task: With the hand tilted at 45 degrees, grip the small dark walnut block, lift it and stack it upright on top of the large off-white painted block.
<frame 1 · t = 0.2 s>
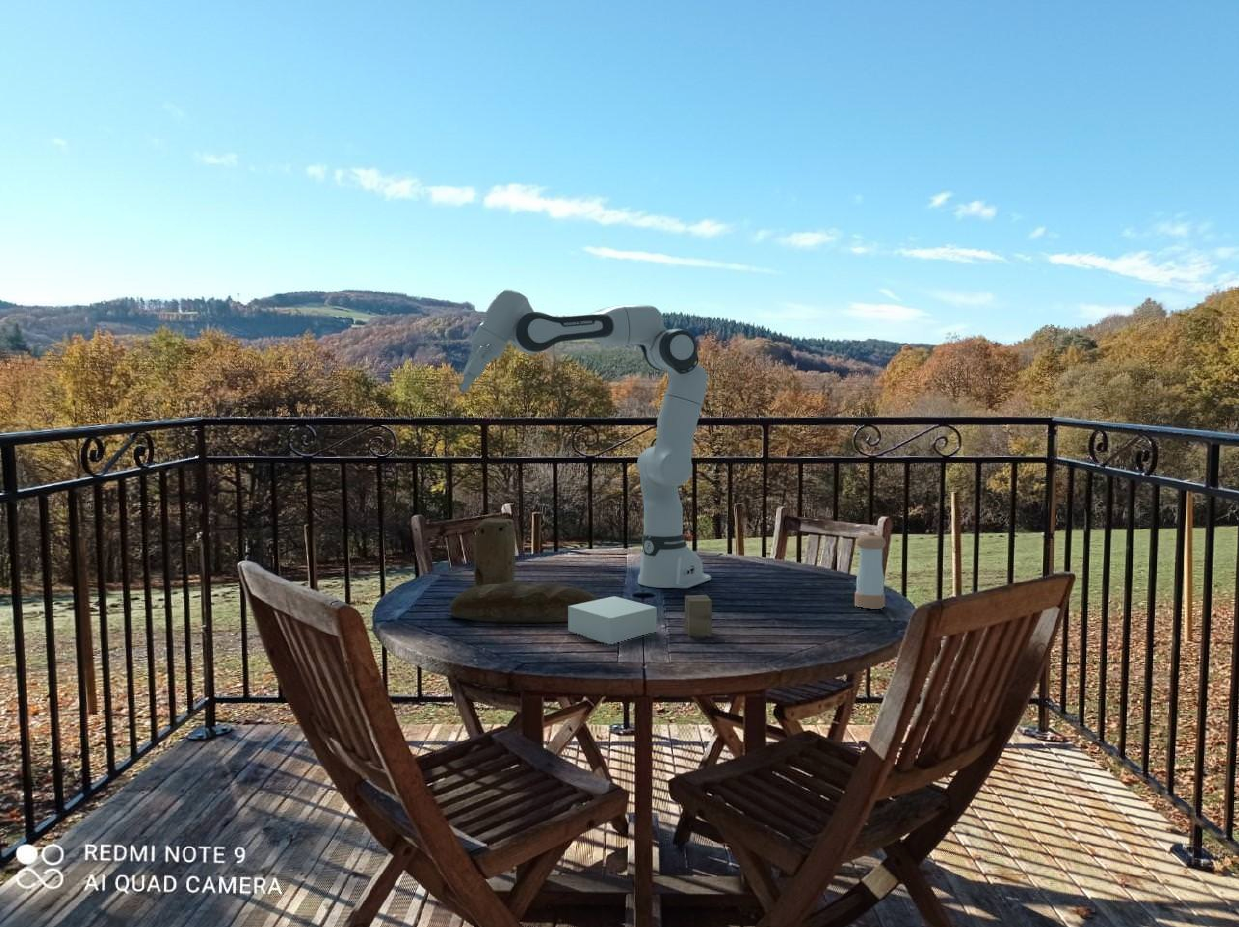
hand: (462, 391, 206), 54 cm above the table, fingers open, 8 cm apart
bread: (526, 617, 189), on the table
walnut block: (697, 633, 175), on the table
block: (494, 593, 213), on the table
painted base block: (612, 633, 176), on the table
pepper shaker: (869, 607, 199), on the table
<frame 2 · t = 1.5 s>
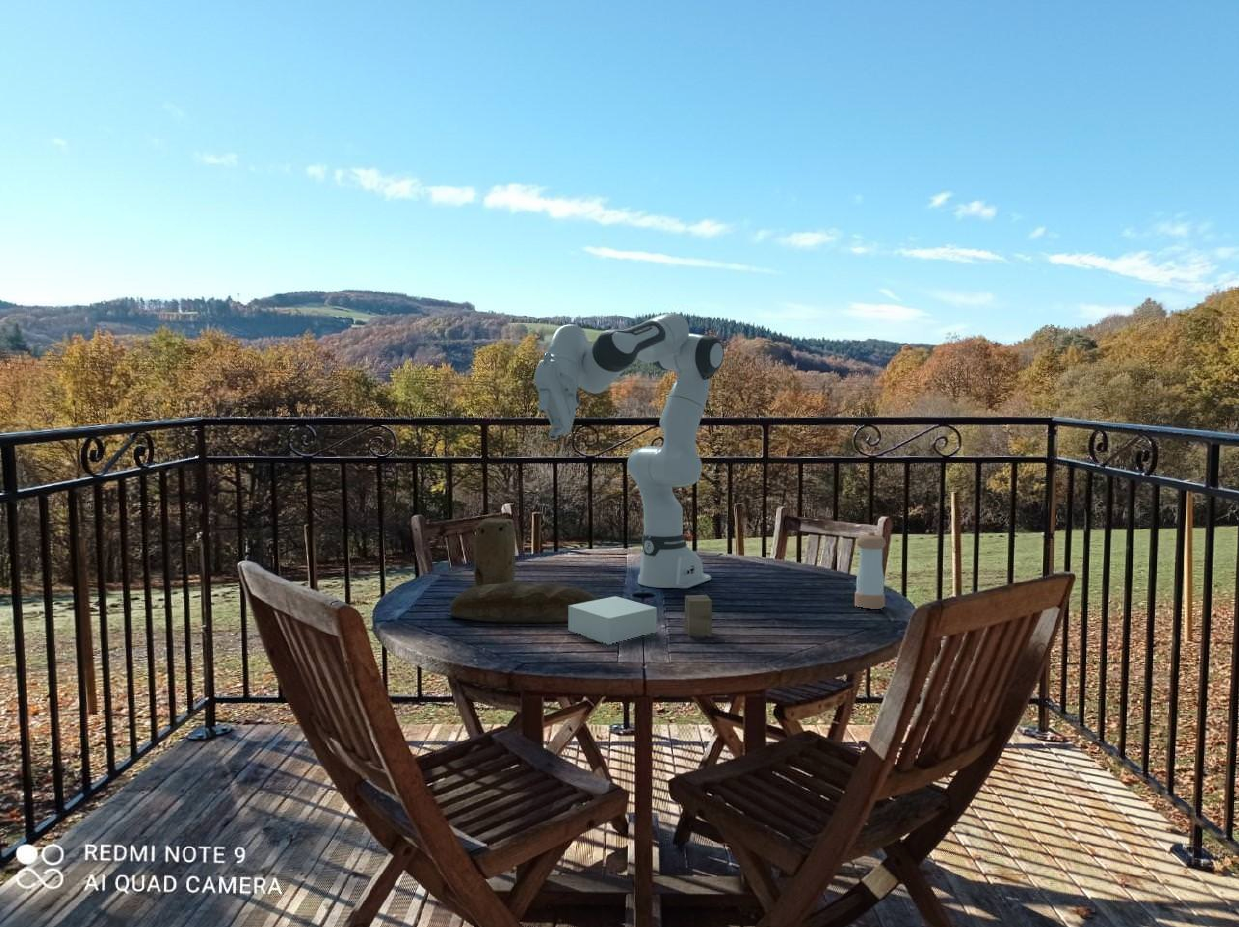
hand: (547, 424, 177), 46 cm above the table, fingers open, 8 cm apart
nothing on the table moved.
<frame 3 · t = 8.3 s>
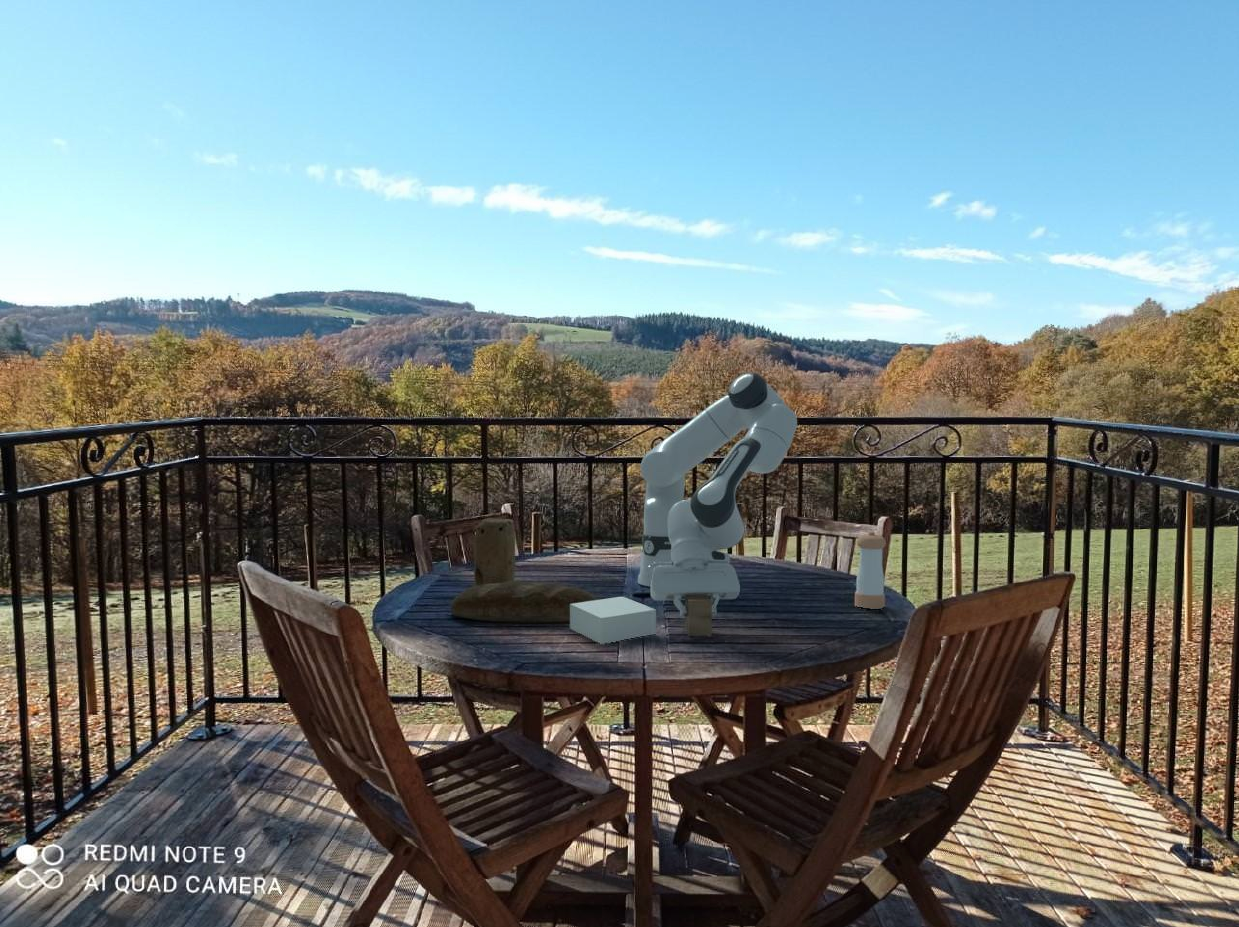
hand: (698, 614, 174), 4 cm above the table, fingers closed on walnut block, 5 cm apart
walnut block: (697, 633, 175), on the table, touching gripper
when the fingers open (11 cm above the table, at t = 15.1 s): walnut block drops 1 cm, resting on painted base block.
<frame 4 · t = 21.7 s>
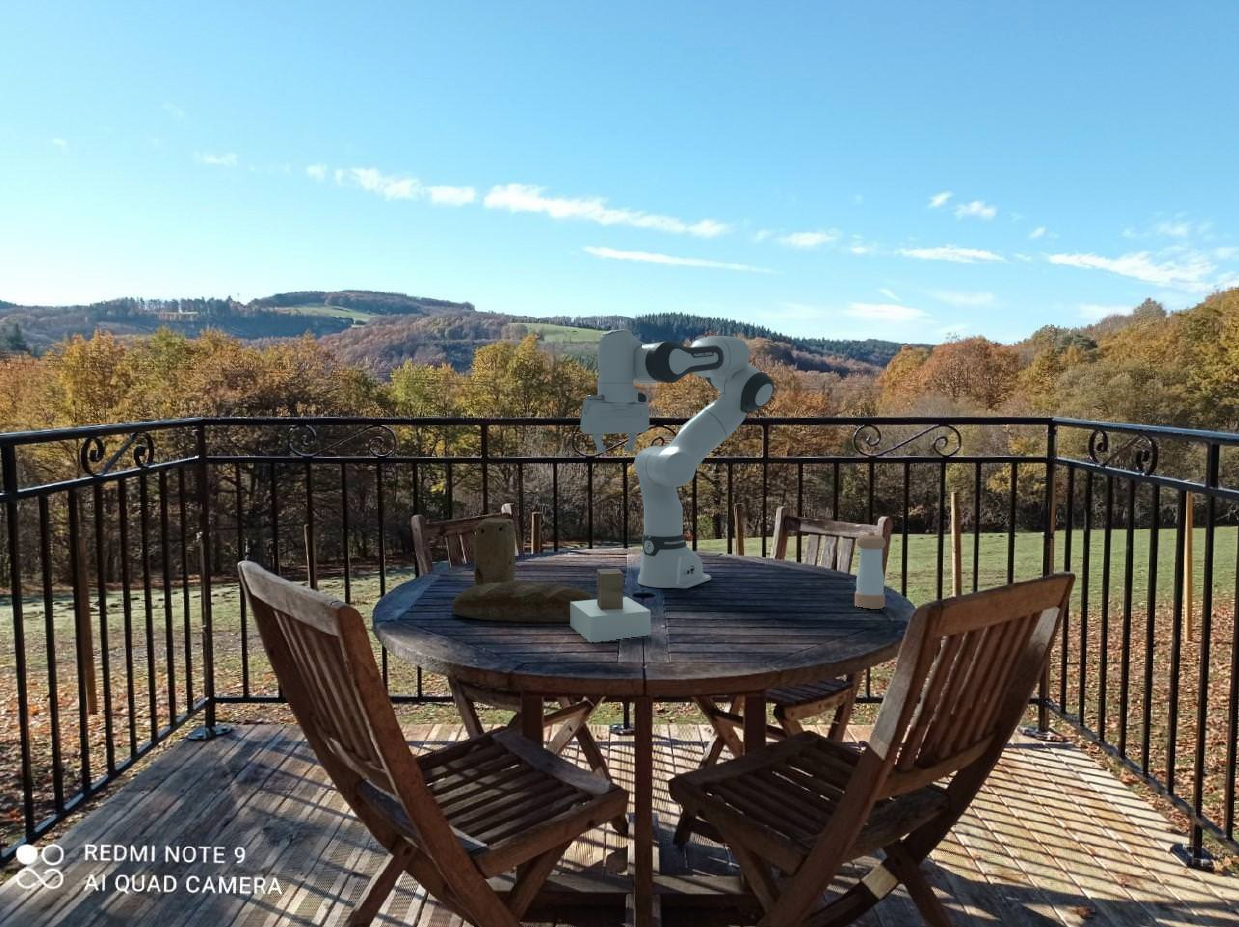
hand: (615, 452, 193), 39 cm above the table, fingers open, 8 cm apart
walnut block: (609, 606, 176), point 6 cm above the table, touching painted base block
painted base block: (609, 632, 177), on the table, touching walnut block
at the end: walnut block inside the target area on the painted base block (0.3 cm from its centre), point 6.0 cm above the painted base block's base; walnut block tilted 0°; the gripper is holding nothing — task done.
